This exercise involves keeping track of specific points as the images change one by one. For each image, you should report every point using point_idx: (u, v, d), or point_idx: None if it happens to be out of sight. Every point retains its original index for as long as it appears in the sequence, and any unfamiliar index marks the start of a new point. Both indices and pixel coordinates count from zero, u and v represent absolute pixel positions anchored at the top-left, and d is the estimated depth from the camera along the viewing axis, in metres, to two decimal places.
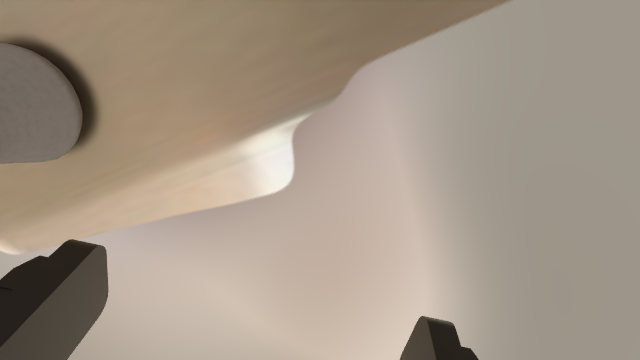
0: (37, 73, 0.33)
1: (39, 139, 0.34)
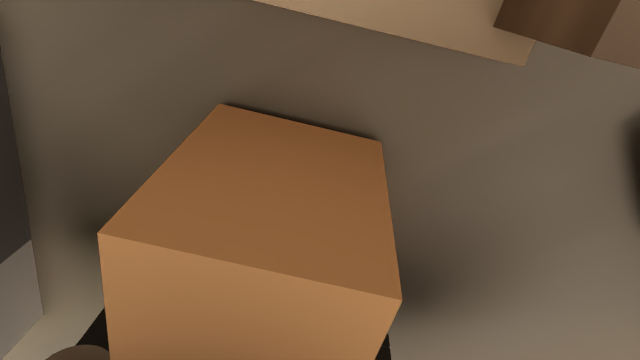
0: None
1: None
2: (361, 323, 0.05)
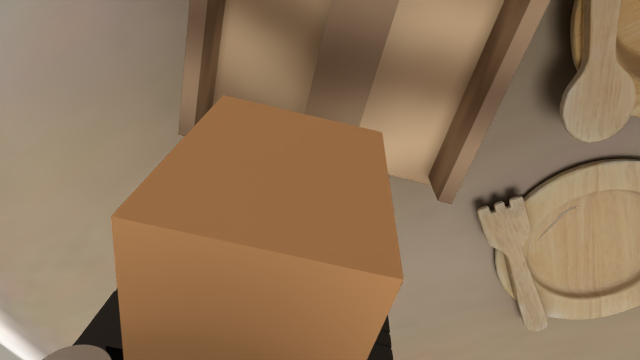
0: None
1: None
2: (364, 303, 0.05)
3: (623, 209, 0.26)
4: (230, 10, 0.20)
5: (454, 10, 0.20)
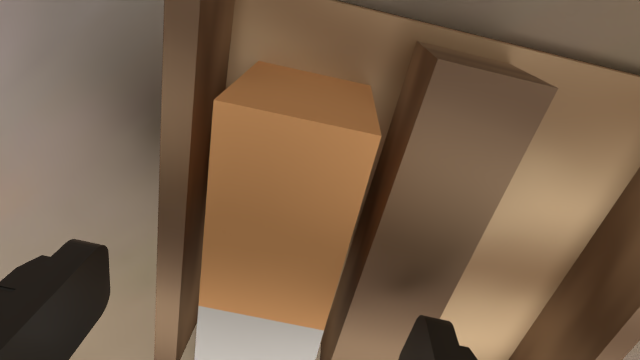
0: None
1: None
2: (359, 155, 0.08)
3: None
4: None
5: (553, 191, 0.13)
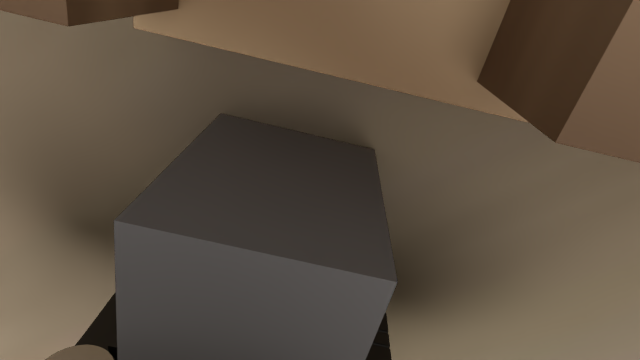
0: None
1: None
2: None
3: None
4: None
5: None
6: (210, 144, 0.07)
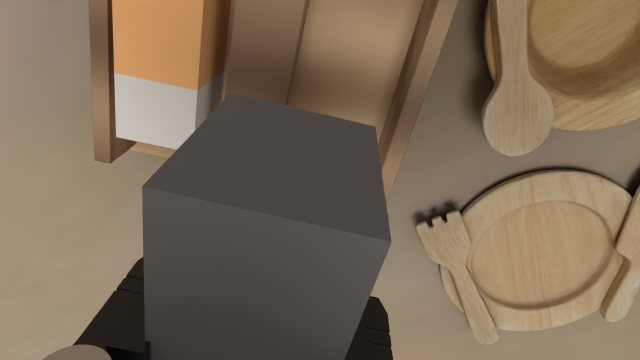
0: None
1: None
2: None
3: (563, 219, 0.25)
4: None
5: (370, 27, 0.20)
6: (222, 121, 0.08)
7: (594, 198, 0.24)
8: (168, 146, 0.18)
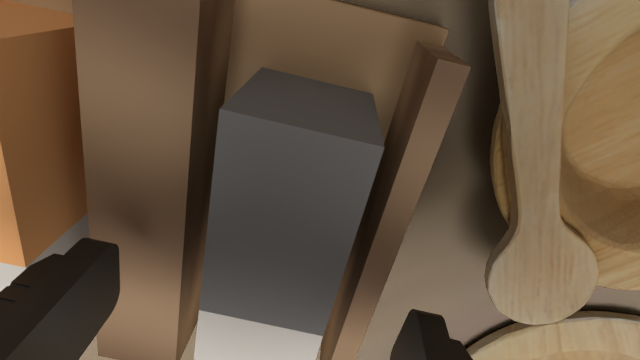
0: None
1: None
2: None
3: None
4: None
5: None
6: (260, 82, 0.11)
7: None
8: None
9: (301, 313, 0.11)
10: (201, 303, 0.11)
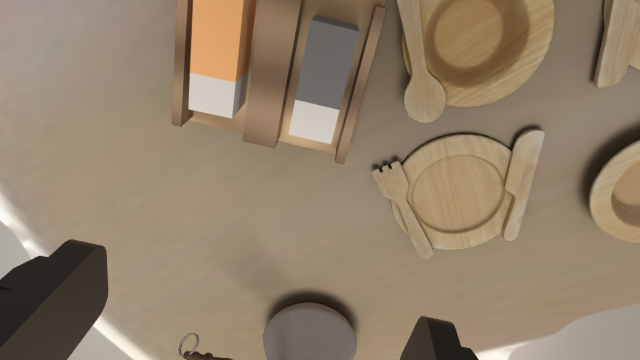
0: (343, 333, 0.44)
1: None
2: (238, 6, 0.28)
3: (471, 168, 0.38)
4: None
5: None
6: (317, 17, 0.30)
7: (486, 153, 0.36)
8: (217, 114, 0.31)
9: (332, 99, 0.30)
10: (296, 96, 0.30)
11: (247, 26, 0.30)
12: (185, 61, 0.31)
